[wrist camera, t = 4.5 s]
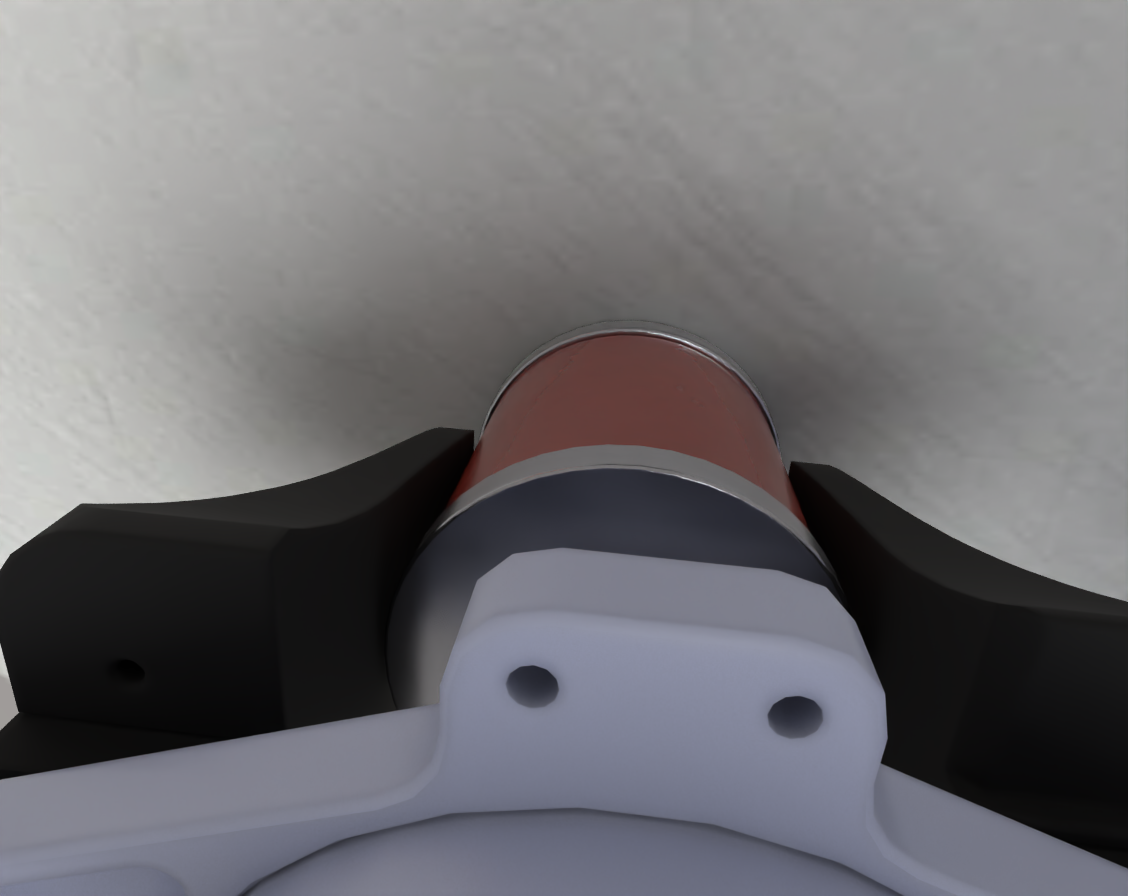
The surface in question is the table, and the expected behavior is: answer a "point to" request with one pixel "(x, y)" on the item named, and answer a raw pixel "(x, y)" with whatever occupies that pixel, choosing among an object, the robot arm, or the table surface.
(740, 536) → the tin can
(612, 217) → the table surface
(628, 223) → the table surface
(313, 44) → the table surface
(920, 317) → the table surface
